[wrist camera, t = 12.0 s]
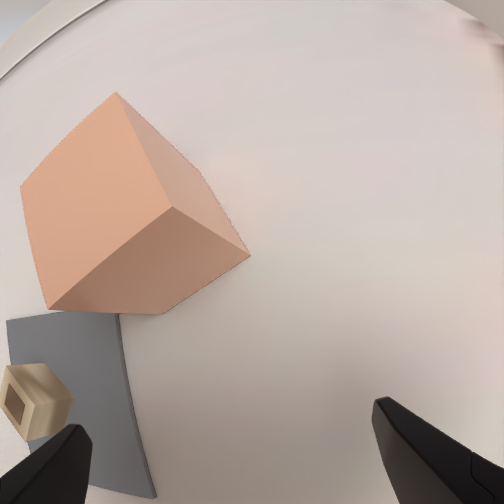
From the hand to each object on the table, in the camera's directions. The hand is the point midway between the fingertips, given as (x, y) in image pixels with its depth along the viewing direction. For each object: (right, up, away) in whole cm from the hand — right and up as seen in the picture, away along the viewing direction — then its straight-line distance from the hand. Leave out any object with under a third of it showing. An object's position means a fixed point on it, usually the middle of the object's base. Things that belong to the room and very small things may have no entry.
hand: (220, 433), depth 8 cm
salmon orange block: (-3, +6, +11) cm, 13 cm away
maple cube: (-15, -6, +12) cm, 20 cm away
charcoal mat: (-13, -6, +12) cm, 19 cm away
